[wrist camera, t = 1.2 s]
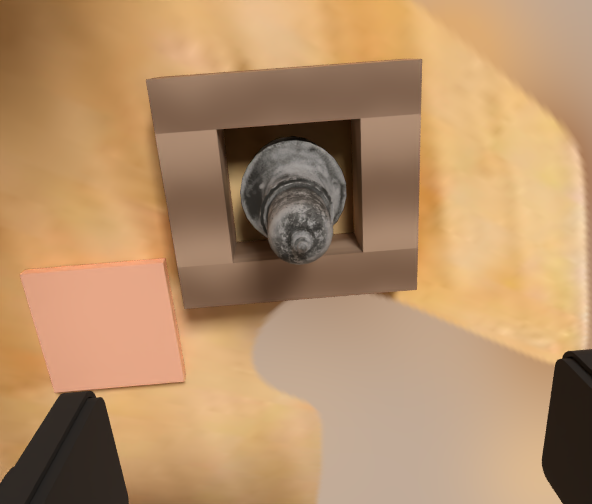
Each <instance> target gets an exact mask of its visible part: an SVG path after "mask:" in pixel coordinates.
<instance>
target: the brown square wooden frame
mask: <svg viewBox="0 0 592 504" xmlns="http://www.w3.org/2000/svg"><path fill="white" fill-rule="evenodd" d="M146 83H147V89H148V95H149V101H150V107H151V113H152V119H153V125H154V131H155V137H156V143H157V149H158V155H159V160H160V166H161V172H162V178H163V184H164V190H165V196H166V202H167V208H168V214H169V220H170V226H171V232H172V238H173V243H174V249H175V255H176V261H177V267H178V273H179V279H180V285H181V291H182V297H183V303H184V309H190V308H202V307H214V306H226V305H238V304H250V303H262V302H274V301H286V300H298V299H309V298H322V297H335V296H347V295H359V294H371V293H383V292H395V291H407V290H417V262H418V217H419V173H420V128H421V83H422V59H398V60H384V61H371V62H357V63H344V64H330V65H316V66H303V67H289V68H276V69H262V70H249V71H235V72H222V73H208V74H195V75H181V76H168V77H158V78H152V79H146ZM347 119H351V144H352V181H353V217H354V233H345V234H333V237H332V241H331V244H330V246H329V248H328V250H327V251H326V252H325V253H324V254H323V255H322V257H320V258H319V259H317V260H316V261H314V262H311V263H308V264H302V265H296V264H290V263H288V262H285V261H283V260H282V259H280V258H279V257H278V256H277V255H276V254H275V253H274V251H273V250H272V249H271V247H270V244H269V241H268V240H258V241H246V242H237V241H236V232H235V224H234V216H233V207H232V199H231V190H230V182H229V174H228V165H227V157H226V149H225V140H224V132H223V129H229V128H242V127H255V126H268V125H281V124H294V123H308V122H321V121H334V120H347Z"/></svg>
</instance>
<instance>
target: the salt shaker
mask: <svg viewBox="0 0 592 504" xmlns="http://www.w3.org/2000/svg"><path fill="white" fill-rule="evenodd" d="M240 194H241V202H242V207H243V209H244V212H245V214H246V217H247V219H248V220H249V221H250V223H251V224H252V225H253V227H254V228H255V229H256V230H258V231H259V232H260V233H261V234H263V235H264V236H265V237H267V238H268V241H269V244H270V247H271V249H272V250H273V251H274V253H275V254H276V255H277V256H278V257H279V258H280V259H282V260H283V261H285V262H288V263H290V264H296V265H302V264H308V263H311V262H314V261H316V260H317V259H319V258H320V257H322V255H323V254H324V253H325V252H326V251H327V250H328V248H329V246H330V244H331V241H332V237H333V225H334V224H335V223H336V222H337V221H338V219H339V217H340V215H341V213H342V211H343V209H344V205H345V200H346V182H345V179H344V175H343V172H342V170H341V168H340V167H339V165H338V163H337V162H336V160H335V159H334V158H333V157H332V156H331V155H330V154H329V153H328V152H326V151H325V150H324V149H323V148H321V147H319V146H318V145H316V144H315V143H313V142H311V141H309V140H307V139H305V138H300V137H295V136H291V137H281V138H279V139H276V140H273V141H271V142H269V143H268V144H267V145H265V146H264V147H262V148H261V149H260V151H259V152H258V153H257V154H256V156H255V157H254V159H253V160H252V161H251V162H250V164H249V165H248V167H247V169H246V171H245V173H244V176H243V178H242V184H241V190H240Z"/></svg>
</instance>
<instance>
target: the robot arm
mask: <svg viewBox="0 0 592 504" xmlns="http://www.w3.org/2000/svg"><path fill="white" fill-rule="evenodd" d="M542 467H543V471H544V474H545V477H546V478H547V480H548V482H549V483H550V485H551V486H552V488H553V489H554V491H555V492H556V494H557V495H558V497H559V498H560V500H561V502H562V503H563V504H592V349H589V350H577V351H568V352H566V353H565V354H564V355H563V358H562V359H559V360H557V362H556V364H555V370H554V377H553V384H552V391H551V399H550V406H549V413H548V420H547V427H546V434H545V441H544V448H543V455H542ZM0 504H129V501H128V494H127V490H126V486H125V482H124V478H123V474H122V470H121V466H120V461H119V457H118V453H117V449H116V445H115V441H114V437H113V433H112V429H111V425H110V421H109V417H108V413H107V409H106V405H105V402H104V400H103V398H101V397H98V398H96V396H95V394H94V393H93V392H92V391H83V392H71V393H63V394H61V395H60V396H59V397H58V399H57V400H56V402H55V403H54V405H53V407H52V408H51V410H50V411H49V413H48V414H47V416H46V418H45V419H44V421H43V422H42V424H41V425H40V427H39V429H38V430H37V432H36V433H35V435H34V436H33V438H32V440H31V441H30V443H29V444H28V446H27V447H26V449H25V451H24V452H23V454H22V455H21V457H20V458H19V460H18V462H17V463H16V465H15V466H14V467H13V468H11V469H10V471H9V472H8V473H7V474H6V475H5V477H4V479H3V480H2V482H1V483H0Z"/></svg>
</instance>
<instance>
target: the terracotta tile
mask: <svg viewBox="0 0 592 504" xmlns="http://www.w3.org/2000/svg"><path fill="white" fill-rule="evenodd" d="M20 278H21V281H22V284H23V288H24V291H25V294H26V298H27V301H28V305H29V308H30V311H31V315H32V318H33V321H34V325H35V328H36V331H37V335H38V338H39V342H40V345H41V348H42V352H43V355H44V358H45V362H46V365H47V369H48V372H49V375H50V379H51V382H52V385H53V389H54V392H55V393H56V392H68V391H80V390H91V389H103V388H114V387H126V386H138V385H149V384H161V383H173V382H184V381H185V377H186V372H185V366H184V360H183V355H182V349H181V343H180V338H179V332H178V327H177V321H176V315H175V310H174V304H173V298H172V293H171V287H170V281H169V276H168V270H167V264H166V259H165V258H162V259H149V260H137V261H125V262H112V263H100V264H88V265H75V266H63V267H51V268H38V269H26V270H24V271H23V272H22V273H21V274H20Z"/></svg>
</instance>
